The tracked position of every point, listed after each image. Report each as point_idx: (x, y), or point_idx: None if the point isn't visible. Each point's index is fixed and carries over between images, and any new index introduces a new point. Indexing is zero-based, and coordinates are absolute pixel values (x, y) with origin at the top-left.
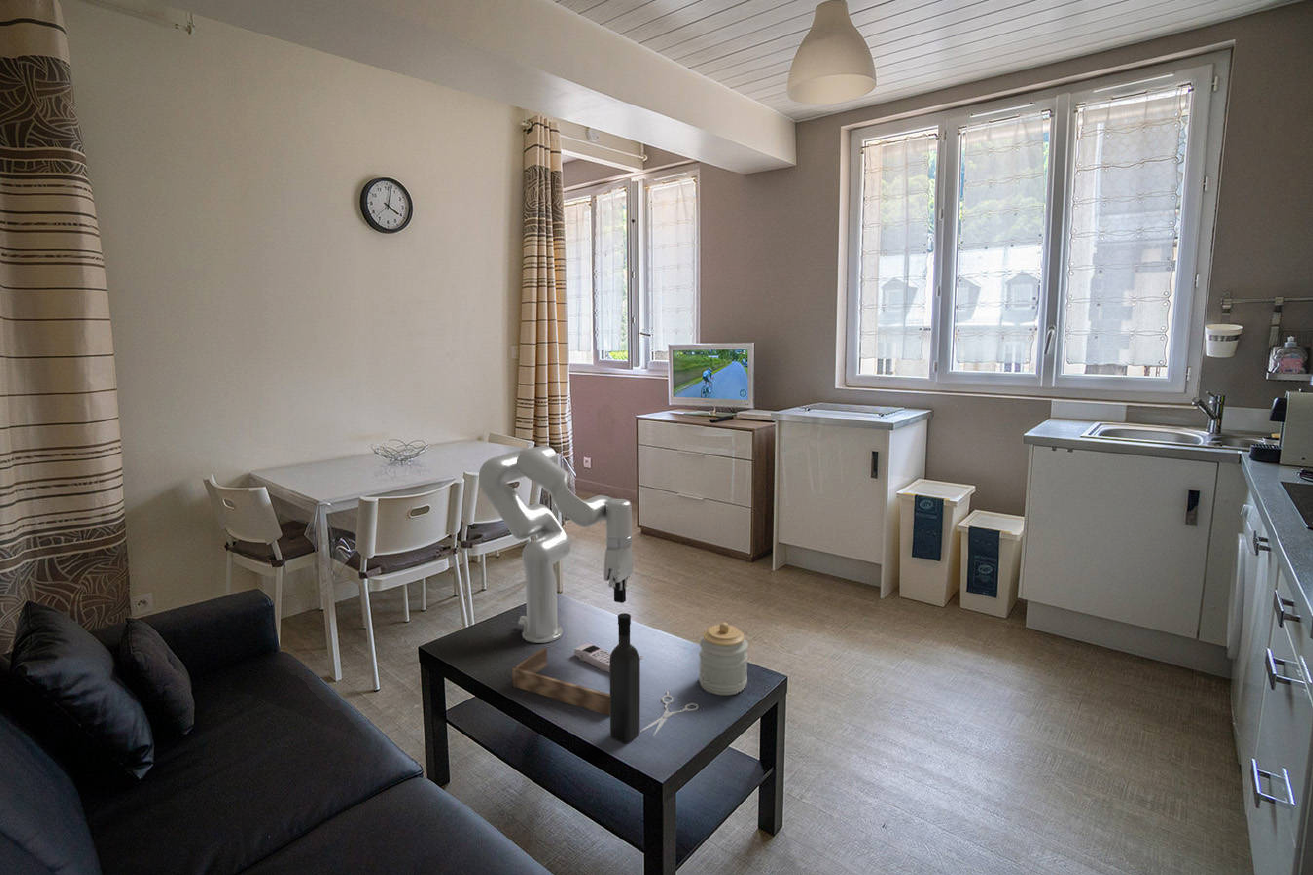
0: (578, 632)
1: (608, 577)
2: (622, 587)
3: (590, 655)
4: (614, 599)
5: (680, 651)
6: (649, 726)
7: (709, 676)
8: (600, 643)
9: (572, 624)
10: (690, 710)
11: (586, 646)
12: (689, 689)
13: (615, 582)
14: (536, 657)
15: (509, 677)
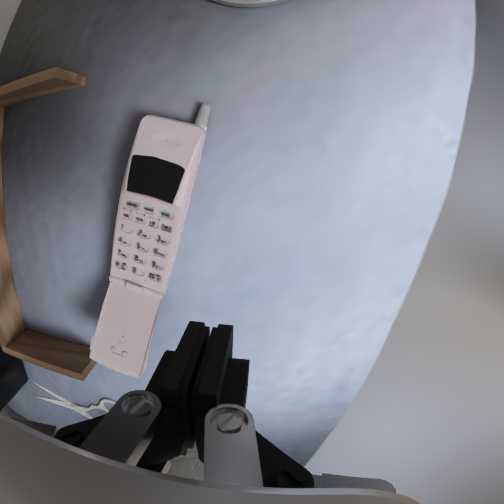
0: (322, 41)
1: (20, 454)
2: (167, 466)
3: (124, 196)
4: (188, 329)
5: (318, 386)
6: (45, 389)
7: None
8: (277, 148)
9: (365, 5)
10: None
11: (169, 147)
12: None
13: (133, 456)
14: (24, 89)
15: (21, 65)
